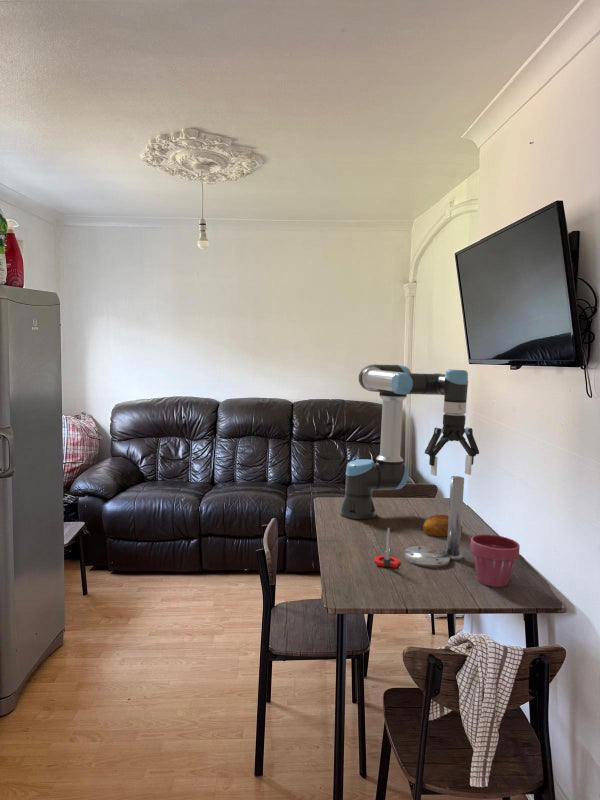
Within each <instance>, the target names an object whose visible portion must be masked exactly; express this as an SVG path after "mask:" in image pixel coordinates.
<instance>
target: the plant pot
mask: <svg viewBox="0 0 600 800" xmlns="http://www.w3.org/2000/svg"><path fill="white" fill-rule="evenodd" d="M520 546H521V545H520V544H519V542H518V541H515V540H514V539H512V538H509V537H504V536H503V535H502V536H501V535H495V534H485V533H484V534H477V535H476V534H475V535H473V536H472V537H471V538H470V547H469V548H470V549H469V550H470V552H471V553H473V561H474V568H475V569H474V570H475V572H476V579H477V581H478V582H479V583H480V584H483V585H485V586H489V587H492V588H493V587H494V588H503V587H506V586H508V584H509V580H510V577H511V575H512V572H513V569H514V566H515V562H516V560H518V558H519V557H520Z"/></svg>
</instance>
